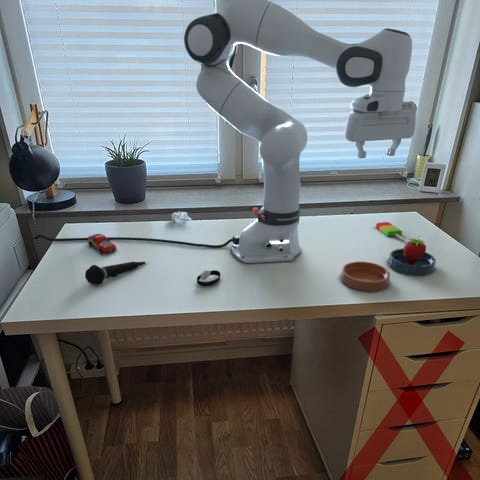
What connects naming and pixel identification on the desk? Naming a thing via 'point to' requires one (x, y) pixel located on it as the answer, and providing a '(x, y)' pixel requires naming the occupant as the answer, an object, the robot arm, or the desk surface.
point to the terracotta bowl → (365, 276)
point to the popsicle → (389, 229)
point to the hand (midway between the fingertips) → (376, 156)
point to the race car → (101, 244)
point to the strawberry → (414, 250)
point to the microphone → (109, 271)
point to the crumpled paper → (180, 217)
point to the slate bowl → (418, 268)
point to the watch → (205, 275)
